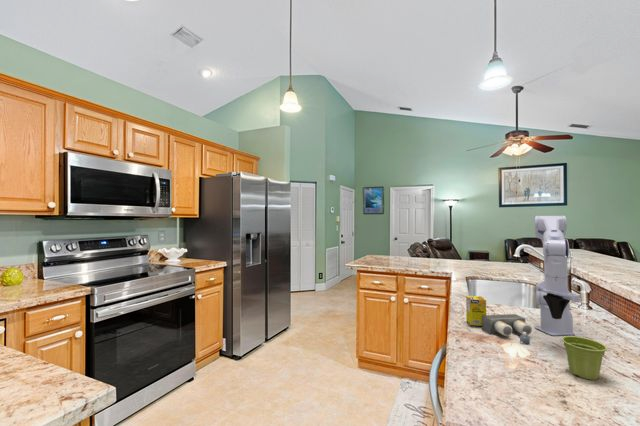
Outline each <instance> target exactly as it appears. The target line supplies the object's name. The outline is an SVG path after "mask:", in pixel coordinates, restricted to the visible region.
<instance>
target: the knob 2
mask: <svg viewBox="0 0 640 426" xmlns="http://www.w3.org/2000/svg"><path fill="white" fill-rule="evenodd" d="M513 328H514V329H515V330H516V331H518V332H520V333H519V334H521V335H523V332H526V335H527V336H529V335H530V334H531V333H532V331H533V329H532V325H531V324H529V323H528V322H527V323H526V321H525V322H523V321H520V320H517V321H515V322H514V324H513Z"/></svg>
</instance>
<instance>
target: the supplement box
mask: <svg viewBox="0 0 640 426" xmlns="http://www.w3.org/2000/svg"><path fill="white" fill-rule="evenodd" d="M465 299H466V301H465V307H466V308H465V309H466V310H465V311H466V323H467V325H469V327H470V328H481V329H482V315H487V300H486V298H484V297H483V296H479V295H478V296H477V295H466V296H465Z"/></svg>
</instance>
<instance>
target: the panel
mask: <svg viewBox="0 0 640 426" xmlns="http://www.w3.org/2000/svg"><path fill="white" fill-rule="evenodd" d="M517 320H520V321H523V322H525V323H526V318H525V317H523V316H520V315H518V314H516V313H515V314H514V313H509V314H486V315H482V328H481V330H482V331H484V332H485V333H487V334H488V335H494V336H495V335H502V334H501V333H499V332H497V331H496V330H495V328H494V325H495V323H496V322H498V321H502V322H504V323H506V324H508V325H510V326H511V327H512V334H521V333H520V332H518V331H516V330H515V329H514V328H513V324H514V322H515V321H517ZM512 334H511V335H512Z"/></svg>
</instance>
